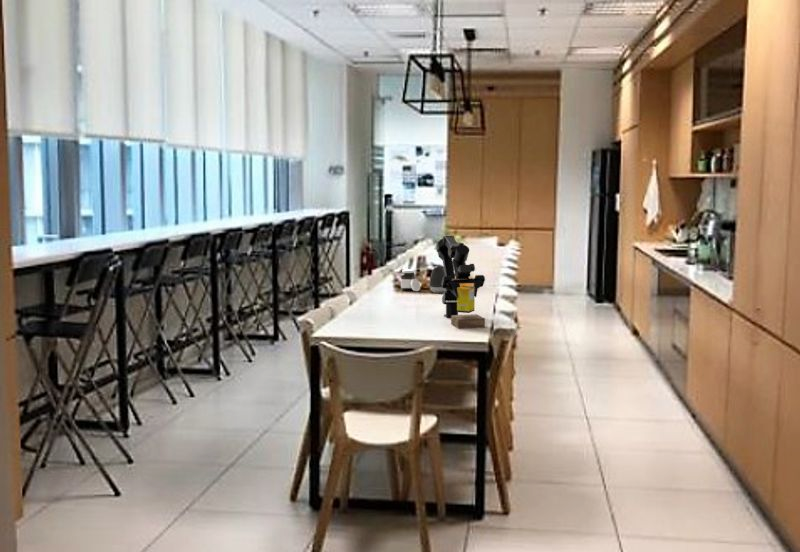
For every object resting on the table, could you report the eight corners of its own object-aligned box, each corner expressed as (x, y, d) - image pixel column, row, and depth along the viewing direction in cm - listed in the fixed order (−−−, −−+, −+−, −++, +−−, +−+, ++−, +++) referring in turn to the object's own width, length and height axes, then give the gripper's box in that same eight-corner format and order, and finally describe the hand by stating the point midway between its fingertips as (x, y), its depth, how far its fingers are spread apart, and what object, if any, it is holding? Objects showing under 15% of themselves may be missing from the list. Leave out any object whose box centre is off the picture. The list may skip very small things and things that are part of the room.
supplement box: (462, 310, 409) (462, 285, 407) (474, 311, 406) (474, 286, 404) (456, 312, 404) (456, 287, 402) (468, 313, 401) (469, 288, 399)
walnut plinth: (451, 324, 411) (451, 315, 410) (476, 323, 413) (476, 314, 413) (458, 328, 399) (458, 319, 398) (484, 327, 401) (484, 318, 401)
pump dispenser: (426, 293, 512) (426, 266, 510) (433, 290, 522) (433, 264, 520) (443, 294, 508) (443, 266, 506) (450, 291, 518) (450, 264, 516)
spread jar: (404, 288, 531) (403, 268, 530) (423, 289, 528) (423, 269, 527) (398, 291, 520) (398, 271, 518) (417, 292, 517) (417, 271, 515)
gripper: (443, 258, 404) (449, 286, 394) (484, 256, 407) (491, 285, 398) (438, 273, 412) (444, 301, 403) (479, 272, 416) (485, 300, 407)
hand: (466, 296), depth 402 cm, fingers closed on supplement box, 8 cm apart
